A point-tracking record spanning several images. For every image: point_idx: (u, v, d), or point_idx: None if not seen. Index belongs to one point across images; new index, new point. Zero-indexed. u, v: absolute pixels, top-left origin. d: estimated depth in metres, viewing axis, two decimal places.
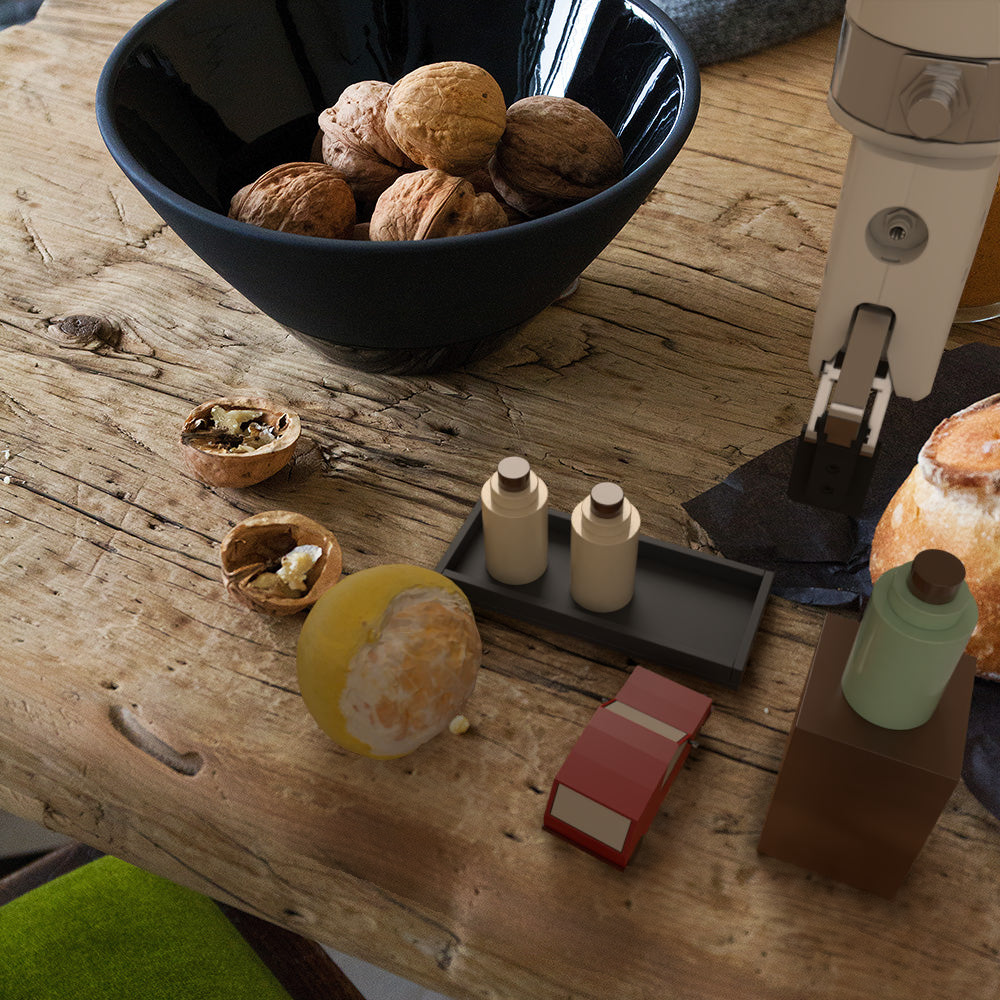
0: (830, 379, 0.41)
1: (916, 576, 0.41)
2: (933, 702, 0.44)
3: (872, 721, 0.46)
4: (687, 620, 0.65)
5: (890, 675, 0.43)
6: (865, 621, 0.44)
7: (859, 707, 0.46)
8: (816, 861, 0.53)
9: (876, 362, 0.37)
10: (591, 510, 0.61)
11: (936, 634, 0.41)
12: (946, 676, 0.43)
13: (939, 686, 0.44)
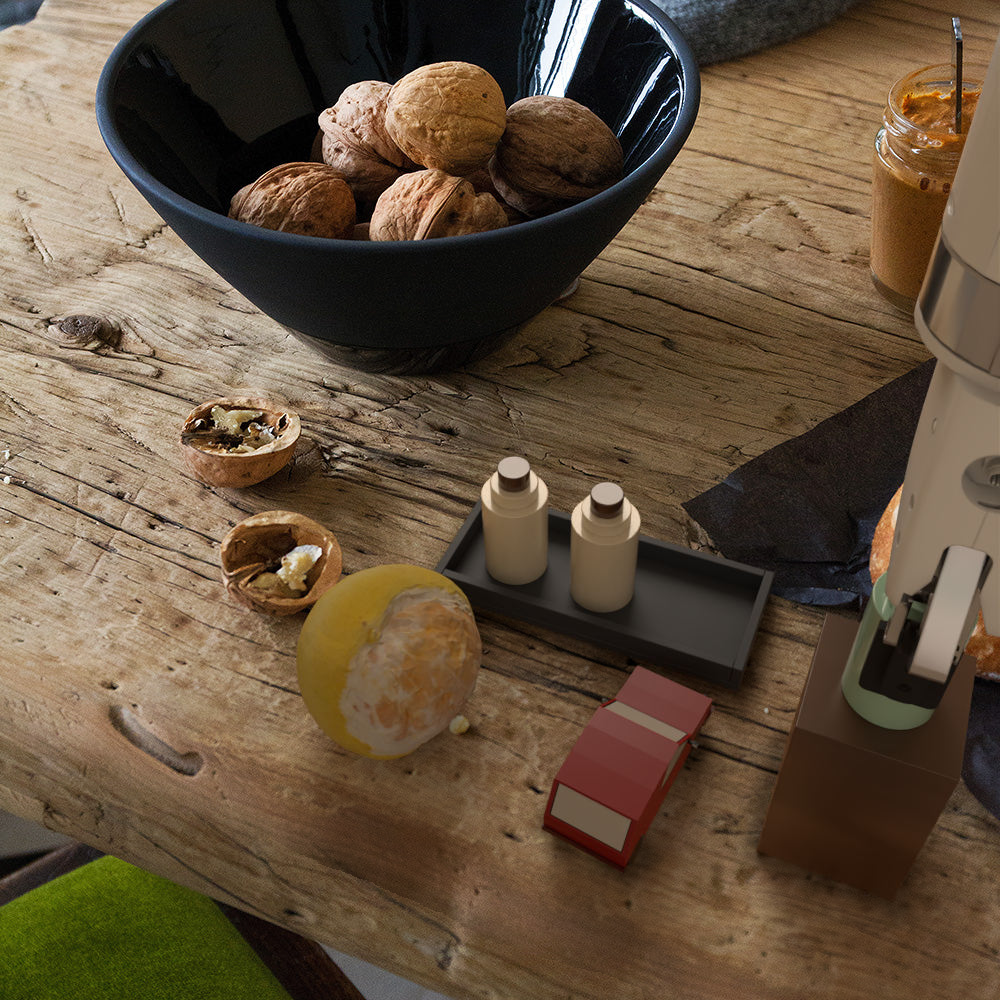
0: (909, 599, 0.38)
1: None
2: None
3: (872, 721, 0.46)
4: (687, 620, 0.65)
5: None
6: (865, 621, 0.44)
7: (859, 707, 0.46)
8: (816, 861, 0.53)
9: (962, 624, 0.34)
10: (591, 510, 0.61)
11: None
12: None
13: None
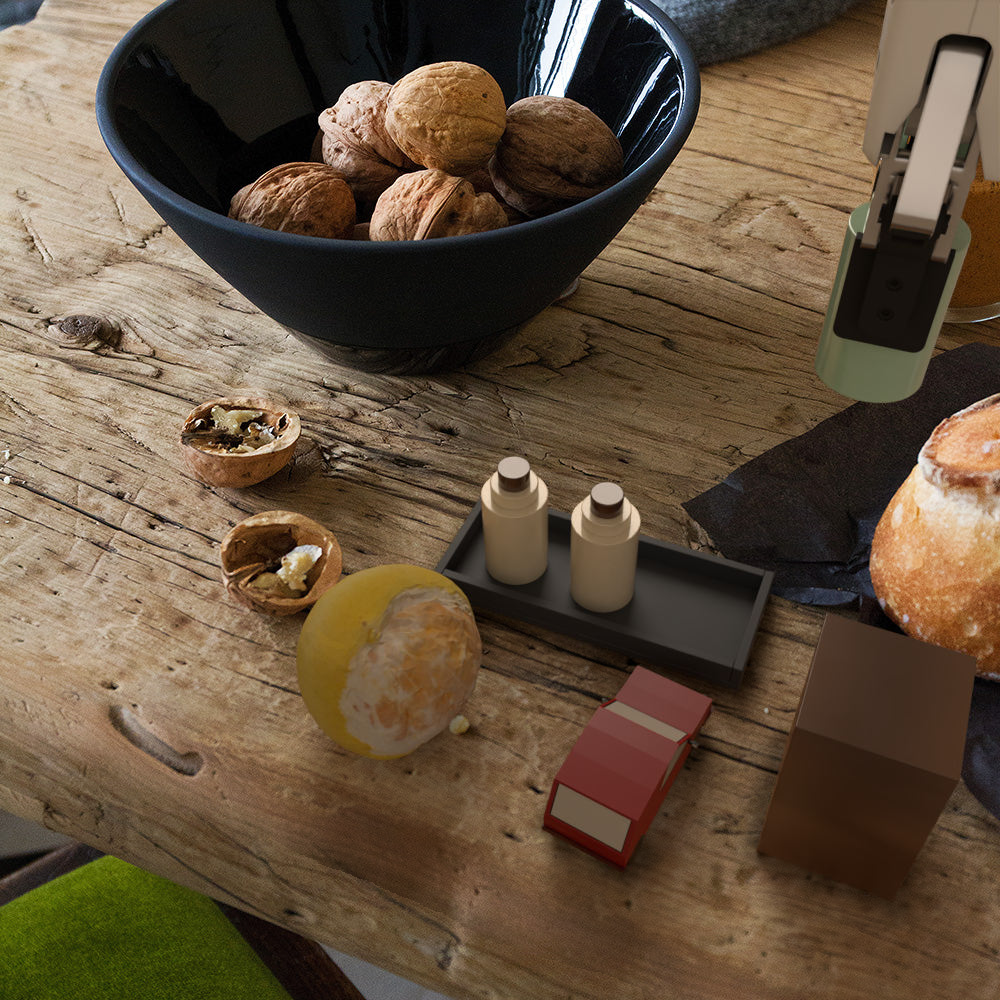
0: (891, 174, 0.32)
1: (899, 180, 0.35)
2: (918, 361, 0.38)
3: (848, 395, 0.40)
4: (687, 620, 0.65)
5: None
6: (840, 261, 0.38)
7: (834, 380, 0.40)
8: (816, 861, 0.53)
9: (955, 148, 0.28)
10: (591, 510, 0.61)
11: None
12: (934, 319, 0.37)
13: None
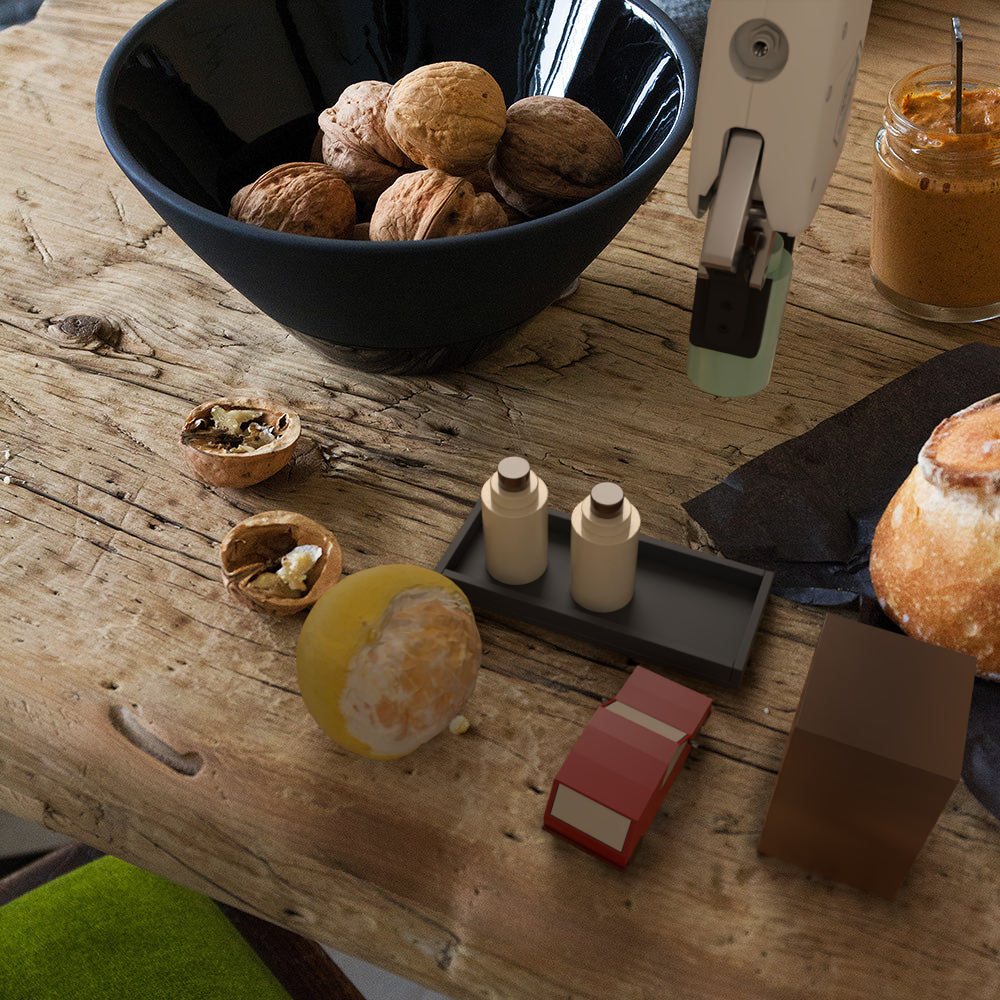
0: None
1: None
2: (760, 364, 0.49)
3: (708, 391, 0.50)
4: (687, 620, 0.65)
5: None
6: None
7: (697, 379, 0.50)
8: (816, 861, 0.53)
9: (743, 208, 0.39)
10: (591, 510, 0.61)
11: None
12: (768, 332, 0.47)
13: (762, 344, 0.48)
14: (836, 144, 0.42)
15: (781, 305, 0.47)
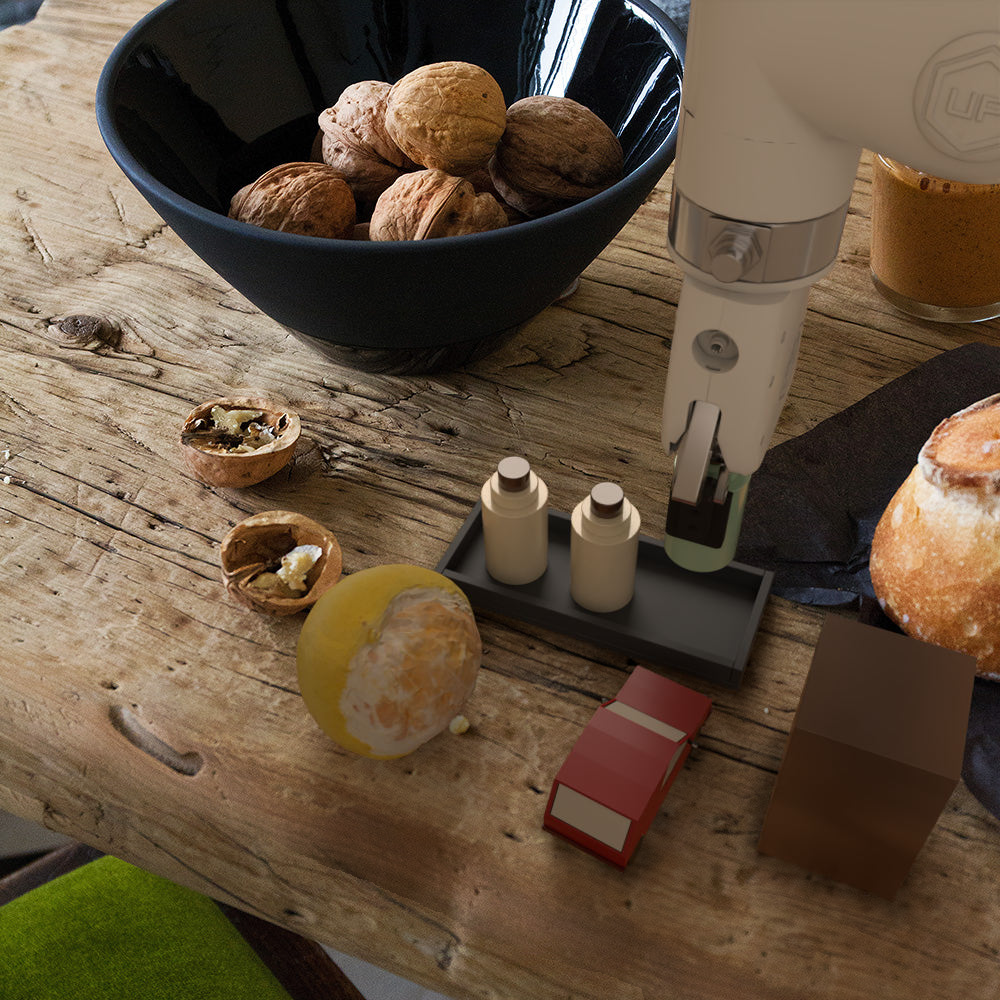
0: None
1: None
2: (725, 547, 0.58)
3: (682, 566, 0.59)
4: (687, 620, 0.65)
5: None
6: None
7: (673, 555, 0.59)
8: (816, 861, 0.53)
9: (705, 460, 0.48)
10: (591, 510, 0.61)
11: None
12: (731, 524, 0.56)
13: (727, 533, 0.57)
14: (783, 392, 0.51)
15: (742, 504, 0.56)
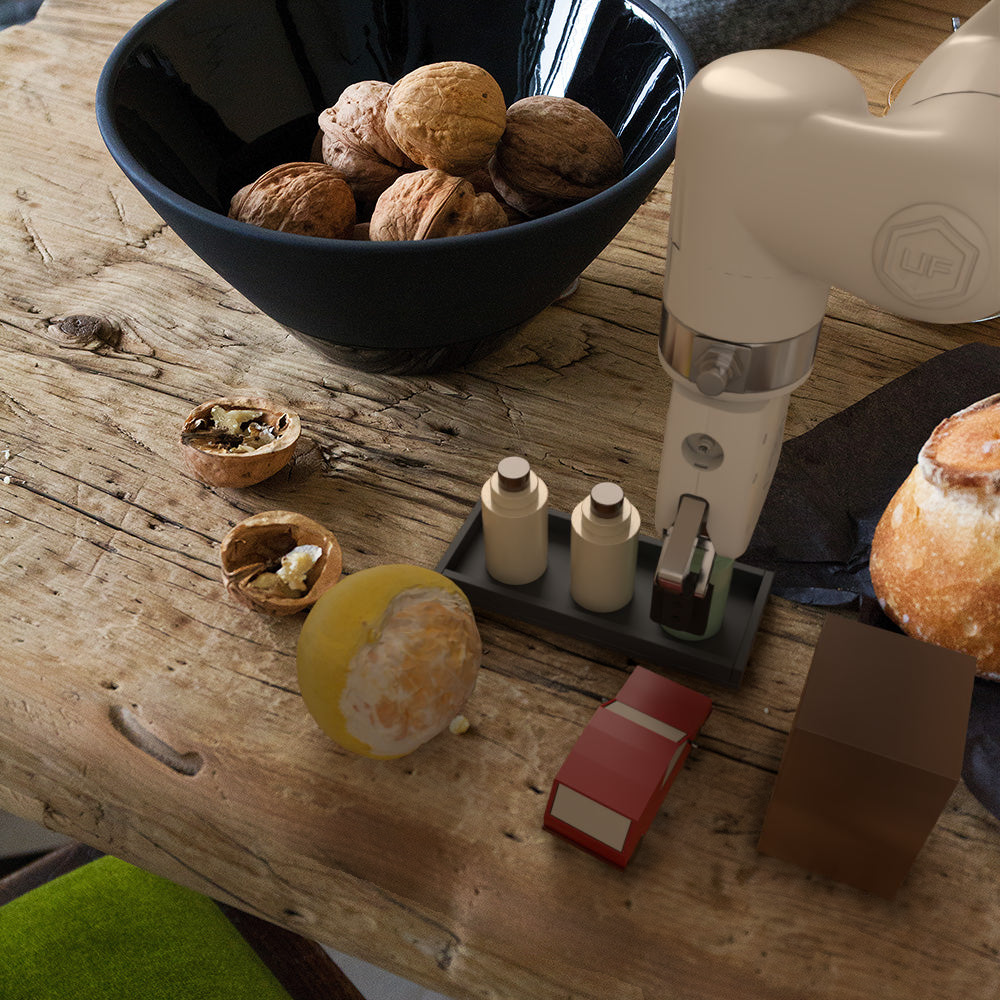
0: None
1: None
2: (713, 619, 0.62)
3: (673, 635, 0.64)
4: None
5: None
6: None
7: None
8: (816, 861, 0.53)
9: (693, 539, 0.50)
10: (591, 510, 0.61)
11: None
12: (718, 599, 0.61)
13: (714, 607, 0.61)
14: (768, 479, 0.55)
15: (727, 581, 0.60)
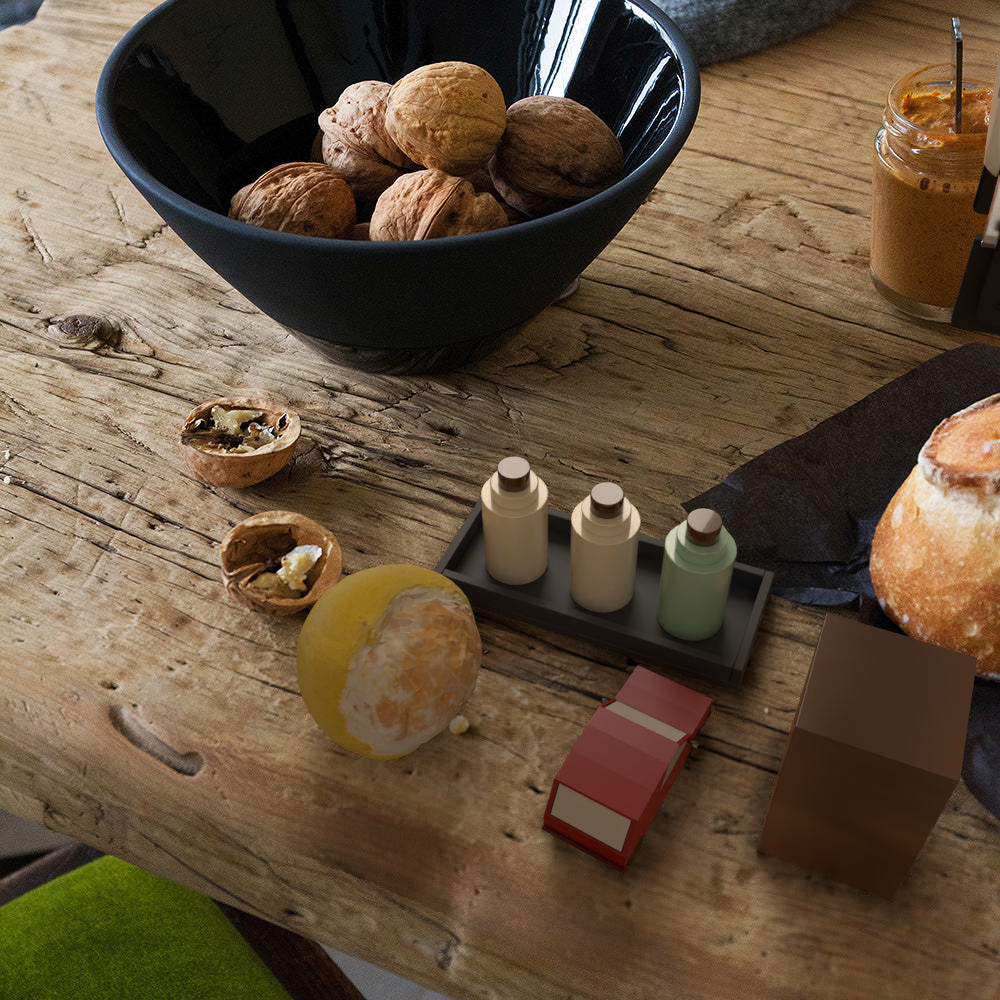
0: None
1: (688, 527, 0.59)
2: (713, 619, 0.62)
3: (673, 635, 0.64)
4: None
5: (679, 598, 0.61)
6: (662, 561, 0.61)
7: (665, 625, 0.64)
8: (816, 861, 0.53)
9: None
10: (591, 510, 0.61)
11: (704, 567, 0.59)
12: (718, 599, 0.61)
13: (714, 607, 0.61)
14: None
15: (727, 581, 0.60)
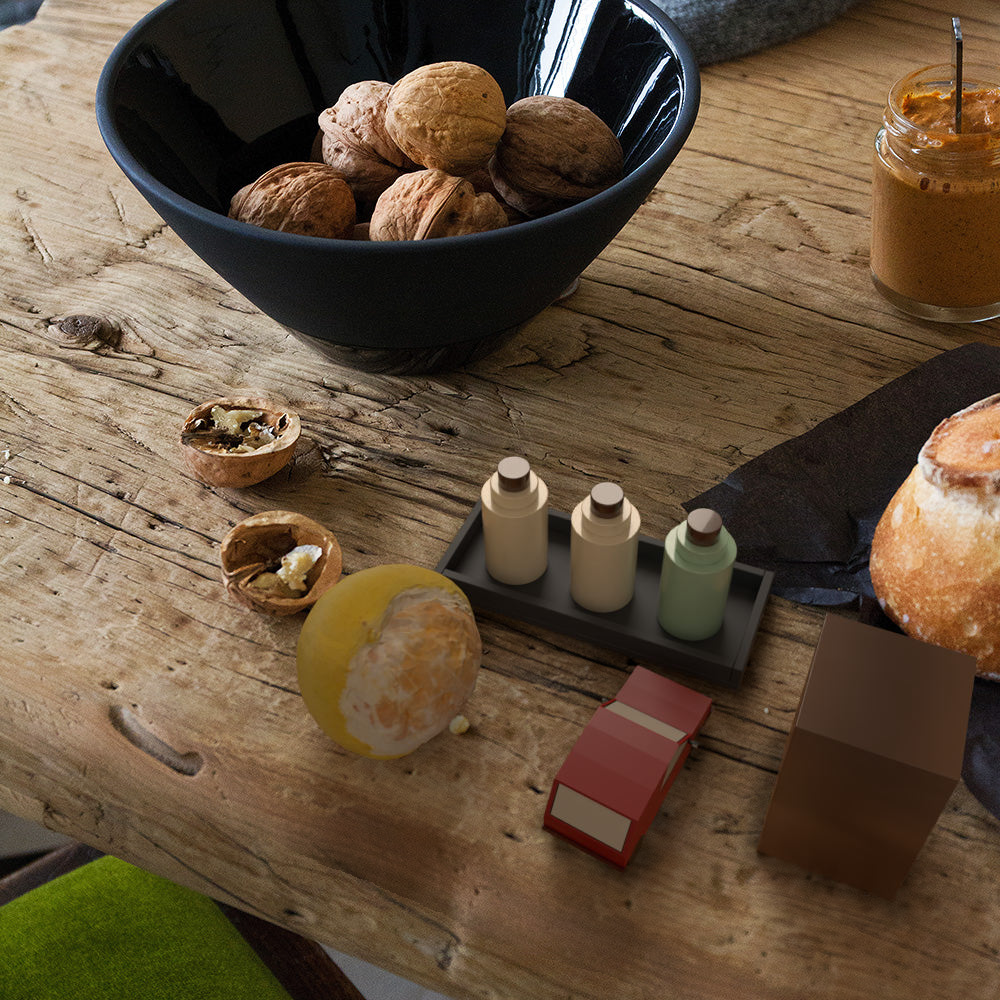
0: None
1: (688, 527, 0.59)
2: (713, 619, 0.62)
3: (673, 635, 0.64)
4: None
5: (679, 598, 0.61)
6: (662, 561, 0.61)
7: (665, 625, 0.64)
8: (816, 861, 0.53)
9: None
10: (591, 510, 0.61)
11: (704, 567, 0.59)
12: (718, 599, 0.61)
13: (714, 607, 0.61)
14: None
15: (727, 581, 0.60)
